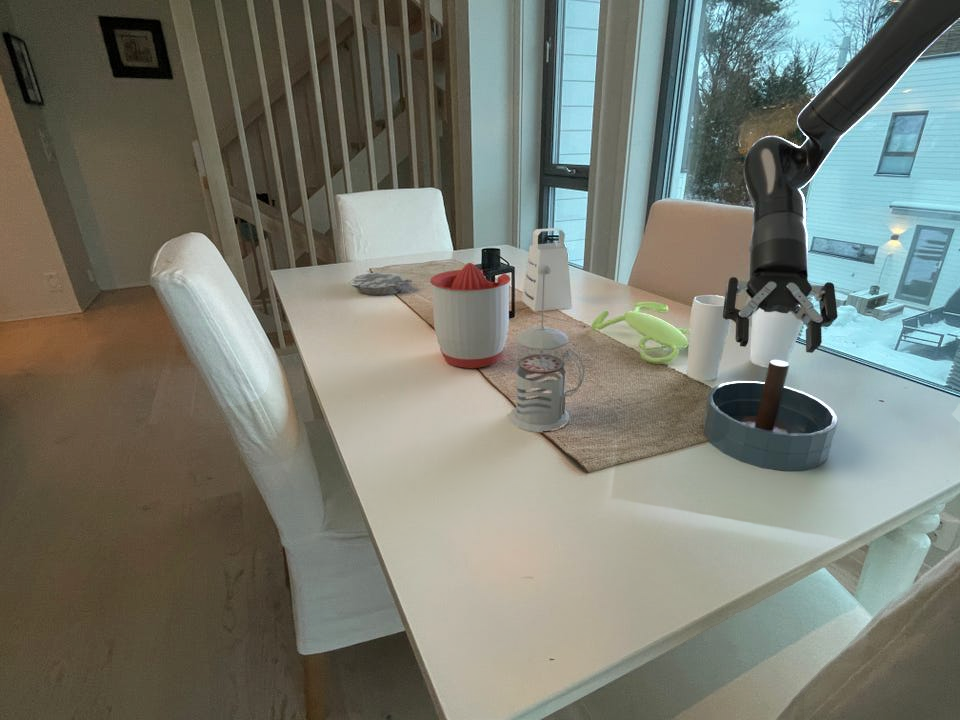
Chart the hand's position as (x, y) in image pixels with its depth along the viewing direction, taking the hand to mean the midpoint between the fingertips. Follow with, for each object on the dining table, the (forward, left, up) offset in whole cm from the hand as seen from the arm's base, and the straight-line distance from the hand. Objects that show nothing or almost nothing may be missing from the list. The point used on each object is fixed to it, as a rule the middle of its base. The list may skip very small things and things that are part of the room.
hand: (777, 347), depth 72 cm
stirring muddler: (0, +3, -13) cm, 14 cm away
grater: (+44, -56, -14) cm, 73 cm away
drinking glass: (+7, -18, -14) cm, 24 cm away
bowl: (0, +3, -14) cm, 14 cm away
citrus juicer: (+51, -16, -14) cm, 55 cm away
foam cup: (-6, -29, -14) cm, 33 cm away
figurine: (+17, -36, -14) cm, 42 cm away
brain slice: (+96, -58, -14) cm, 113 cm away
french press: (+32, +5, -14) cm, 35 cm away
